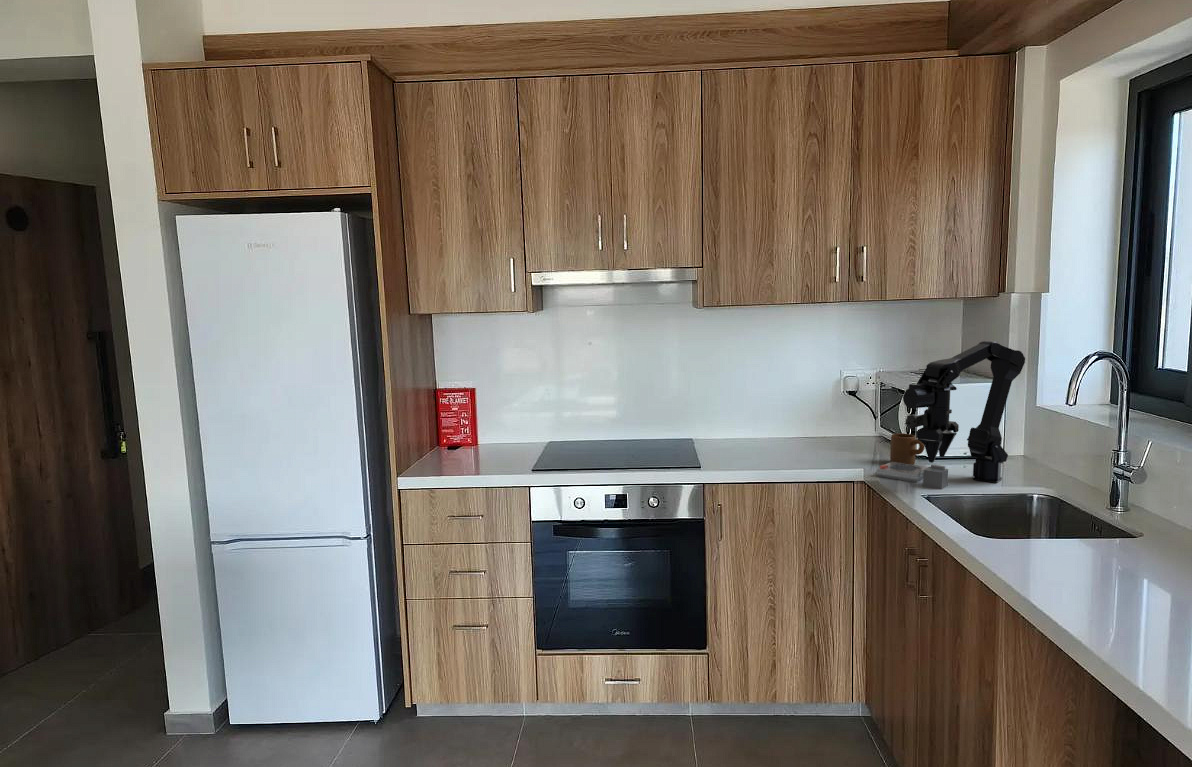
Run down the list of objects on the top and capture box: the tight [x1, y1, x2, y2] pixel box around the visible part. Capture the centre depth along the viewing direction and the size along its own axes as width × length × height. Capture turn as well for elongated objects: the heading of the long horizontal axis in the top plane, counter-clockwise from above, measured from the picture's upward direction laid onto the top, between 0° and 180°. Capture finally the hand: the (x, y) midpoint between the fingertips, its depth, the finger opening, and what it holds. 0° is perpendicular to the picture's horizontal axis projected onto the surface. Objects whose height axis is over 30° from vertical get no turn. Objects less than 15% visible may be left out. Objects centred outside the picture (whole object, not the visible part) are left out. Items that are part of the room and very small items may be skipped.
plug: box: [922, 463, 949, 490], centre depth 215 cm, size 5×5×6 cm
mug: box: [889, 432, 925, 465], centre depth 241 cm, size 12×8×9 cm, turn 26°
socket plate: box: [876, 462, 929, 483], centre depth 228 cm, size 12×12×3 cm
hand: (936, 459), depth 214 cm, fingers open, 9 cm apart
